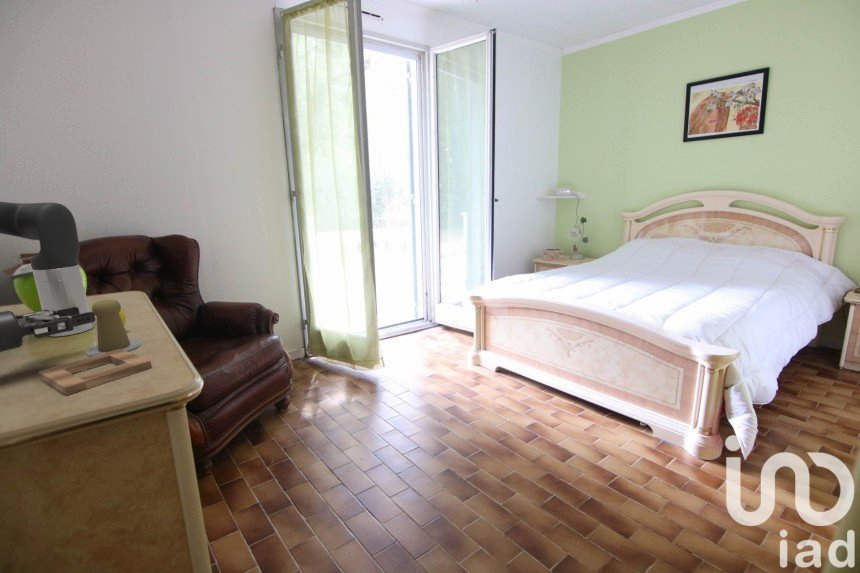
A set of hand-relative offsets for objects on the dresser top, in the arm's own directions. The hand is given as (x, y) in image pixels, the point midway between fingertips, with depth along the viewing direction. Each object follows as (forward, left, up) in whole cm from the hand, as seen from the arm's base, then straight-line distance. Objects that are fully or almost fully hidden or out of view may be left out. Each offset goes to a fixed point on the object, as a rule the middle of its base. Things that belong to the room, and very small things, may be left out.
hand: (86, 313), depth 95 cm
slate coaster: (0, +4, -9) cm, 10 cm away
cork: (+1, +4, -9) cm, 10 cm away
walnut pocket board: (+13, -4, -9) cm, 16 cm away
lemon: (-13, +9, -10) cm, 19 cm away
